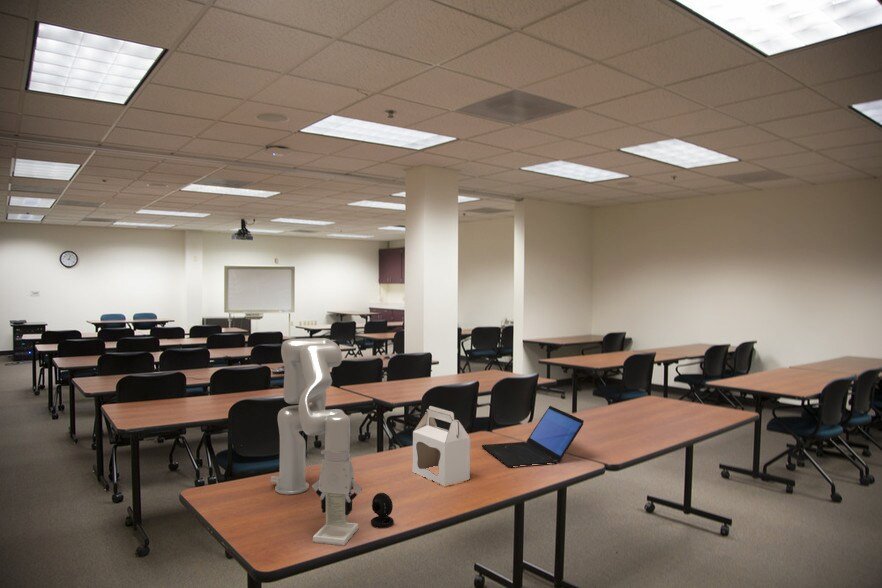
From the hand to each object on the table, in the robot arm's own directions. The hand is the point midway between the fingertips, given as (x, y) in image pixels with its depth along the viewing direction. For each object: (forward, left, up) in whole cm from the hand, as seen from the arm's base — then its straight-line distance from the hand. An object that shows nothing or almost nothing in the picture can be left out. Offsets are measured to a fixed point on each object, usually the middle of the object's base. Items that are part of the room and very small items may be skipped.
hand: (336, 512), depth 172 cm
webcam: (+11, +12, -8) cm, 18 cm away
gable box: (+20, +62, -8) cm, 66 cm away
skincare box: (0, 0, -3) cm, 3 cm away
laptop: (+55, +103, -8) cm, 117 cm away
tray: (0, 0, -7) cm, 7 cm away
